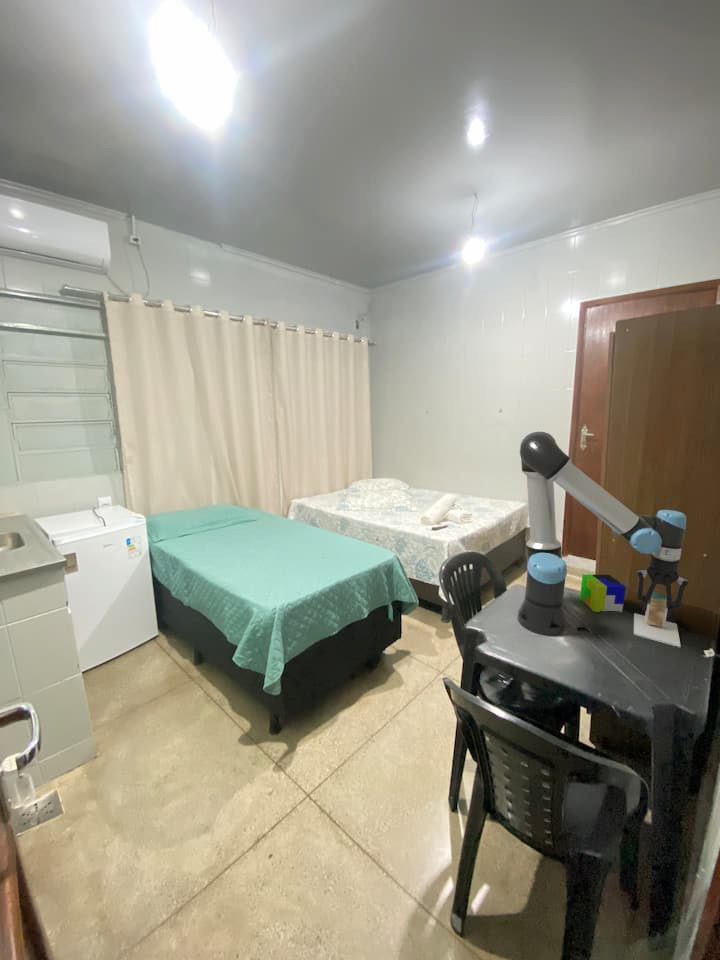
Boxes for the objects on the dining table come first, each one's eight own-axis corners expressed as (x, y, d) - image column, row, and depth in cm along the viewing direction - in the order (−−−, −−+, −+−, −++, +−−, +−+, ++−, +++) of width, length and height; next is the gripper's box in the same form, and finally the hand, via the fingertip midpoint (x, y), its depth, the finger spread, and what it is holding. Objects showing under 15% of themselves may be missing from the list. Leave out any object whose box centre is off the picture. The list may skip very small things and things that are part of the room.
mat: (633, 634, 129) (634, 633, 129) (633, 614, 141) (634, 613, 141) (680, 647, 122) (680, 645, 122) (676, 625, 135) (676, 623, 134)
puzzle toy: (622, 612, 143) (625, 586, 141) (594, 612, 143) (597, 586, 141) (605, 598, 153) (608, 574, 151) (579, 598, 153) (582, 574, 151)
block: (647, 623, 133) (651, 596, 131) (647, 618, 137) (651, 591, 135) (662, 627, 131) (666, 599, 129) (661, 622, 134) (666, 594, 132)
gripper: (633, 555, 131) (624, 619, 136) (700, 567, 121) (688, 635, 126) (633, 548, 137) (624, 609, 142) (697, 559, 127) (685, 624, 132)
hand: (654, 621), depth 134 cm, fingers closed on block, 4 cm apart
